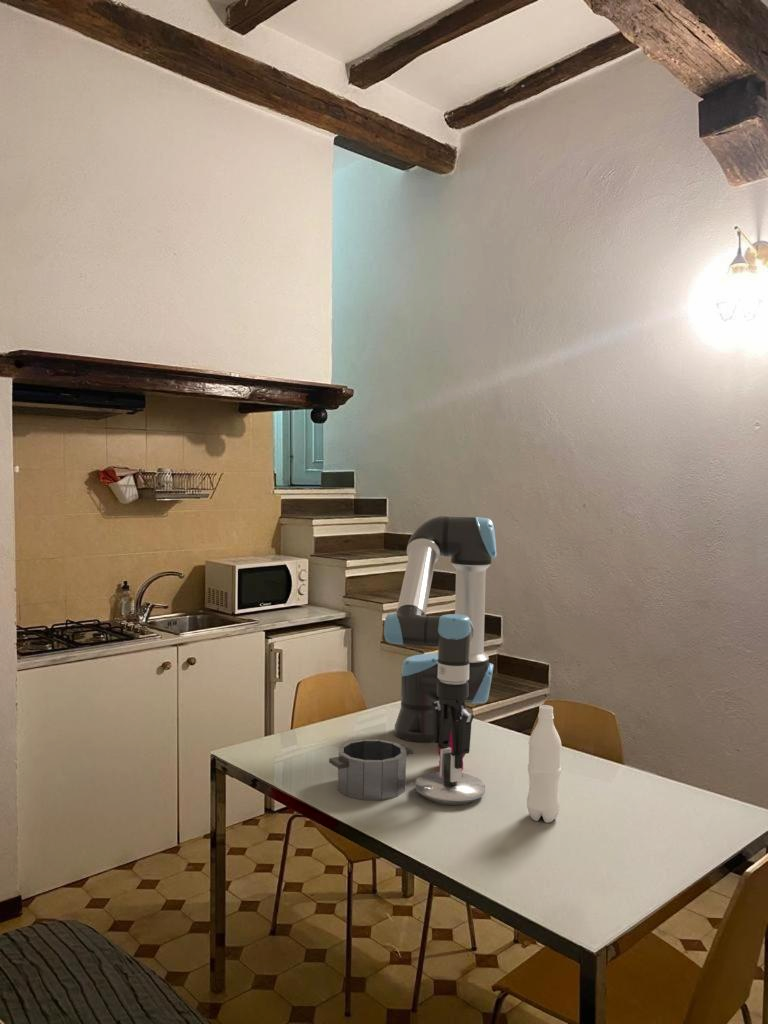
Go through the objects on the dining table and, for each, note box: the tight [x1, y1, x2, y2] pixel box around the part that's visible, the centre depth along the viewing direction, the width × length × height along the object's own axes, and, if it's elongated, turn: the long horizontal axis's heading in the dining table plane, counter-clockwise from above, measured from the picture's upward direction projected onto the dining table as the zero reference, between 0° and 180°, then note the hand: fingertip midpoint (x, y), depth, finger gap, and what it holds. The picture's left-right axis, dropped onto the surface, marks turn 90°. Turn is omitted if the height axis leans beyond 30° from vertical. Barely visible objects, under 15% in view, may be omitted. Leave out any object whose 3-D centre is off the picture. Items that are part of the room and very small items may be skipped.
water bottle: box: [526, 704, 562, 824], centre depth 176 cm, size 7×7×25 cm
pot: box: [328, 739, 415, 801], centre depth 192 cm, size 21×16×9 cm
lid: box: [414, 753, 486, 806], centre depth 189 cm, size 17×17×10 cm
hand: (450, 777), depth 189 cm, fingers closed on lid, 3 cm apart
